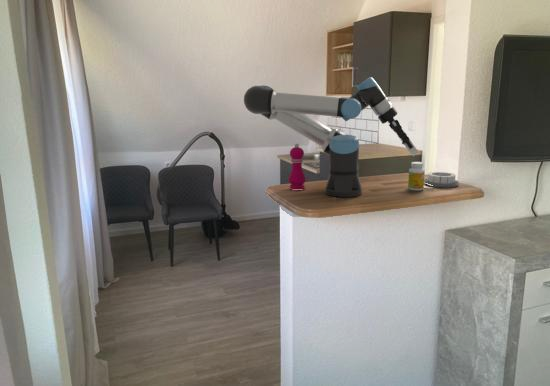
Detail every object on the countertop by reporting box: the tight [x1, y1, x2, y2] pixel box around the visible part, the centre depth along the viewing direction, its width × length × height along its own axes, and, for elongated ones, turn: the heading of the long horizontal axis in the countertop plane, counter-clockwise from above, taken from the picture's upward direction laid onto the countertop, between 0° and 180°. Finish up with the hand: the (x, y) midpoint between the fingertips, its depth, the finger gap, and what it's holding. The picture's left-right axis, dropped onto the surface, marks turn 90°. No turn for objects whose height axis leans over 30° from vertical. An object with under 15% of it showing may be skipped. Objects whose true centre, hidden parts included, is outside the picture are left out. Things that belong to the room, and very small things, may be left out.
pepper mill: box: [288, 143, 306, 190], centre depth 179 cm, size 7×7×20 cm
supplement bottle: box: [407, 161, 425, 191], centre depth 175 cm, size 6×6×11 cm
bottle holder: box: [424, 171, 459, 189], centre depth 183 cm, size 14×14×4 cm
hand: (413, 152), depth 176 cm, fingers open, 13 cm apart
